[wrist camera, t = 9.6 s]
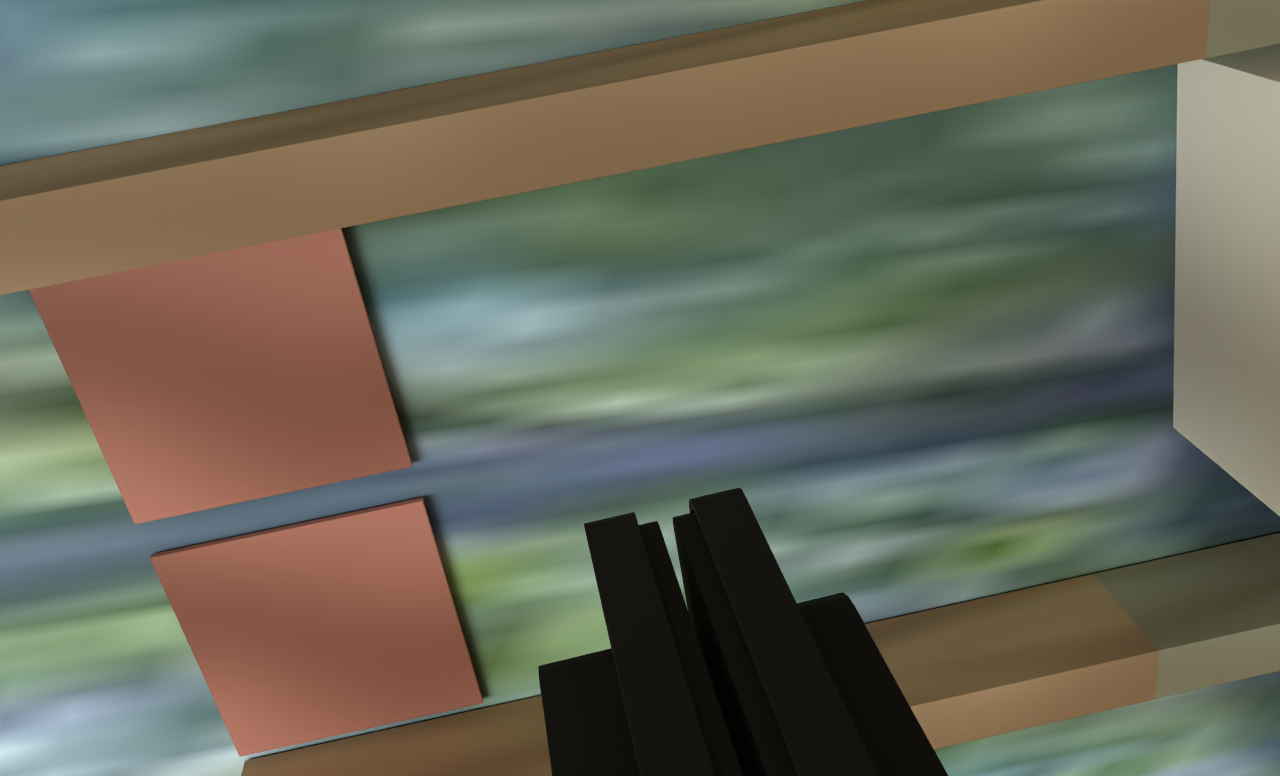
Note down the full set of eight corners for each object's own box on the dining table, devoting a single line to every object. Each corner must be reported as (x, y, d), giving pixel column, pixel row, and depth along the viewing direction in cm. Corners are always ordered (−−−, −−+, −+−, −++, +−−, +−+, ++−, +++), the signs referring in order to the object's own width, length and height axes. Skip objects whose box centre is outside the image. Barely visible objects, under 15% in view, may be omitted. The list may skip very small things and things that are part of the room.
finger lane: (-22, 170, 13) (-121, 234, 11) (1732, -165, 14) (1963, -167, 12) (264, 804, 18) (235, 935, 16) (1547, 518, 19) (1686, 604, 17)
